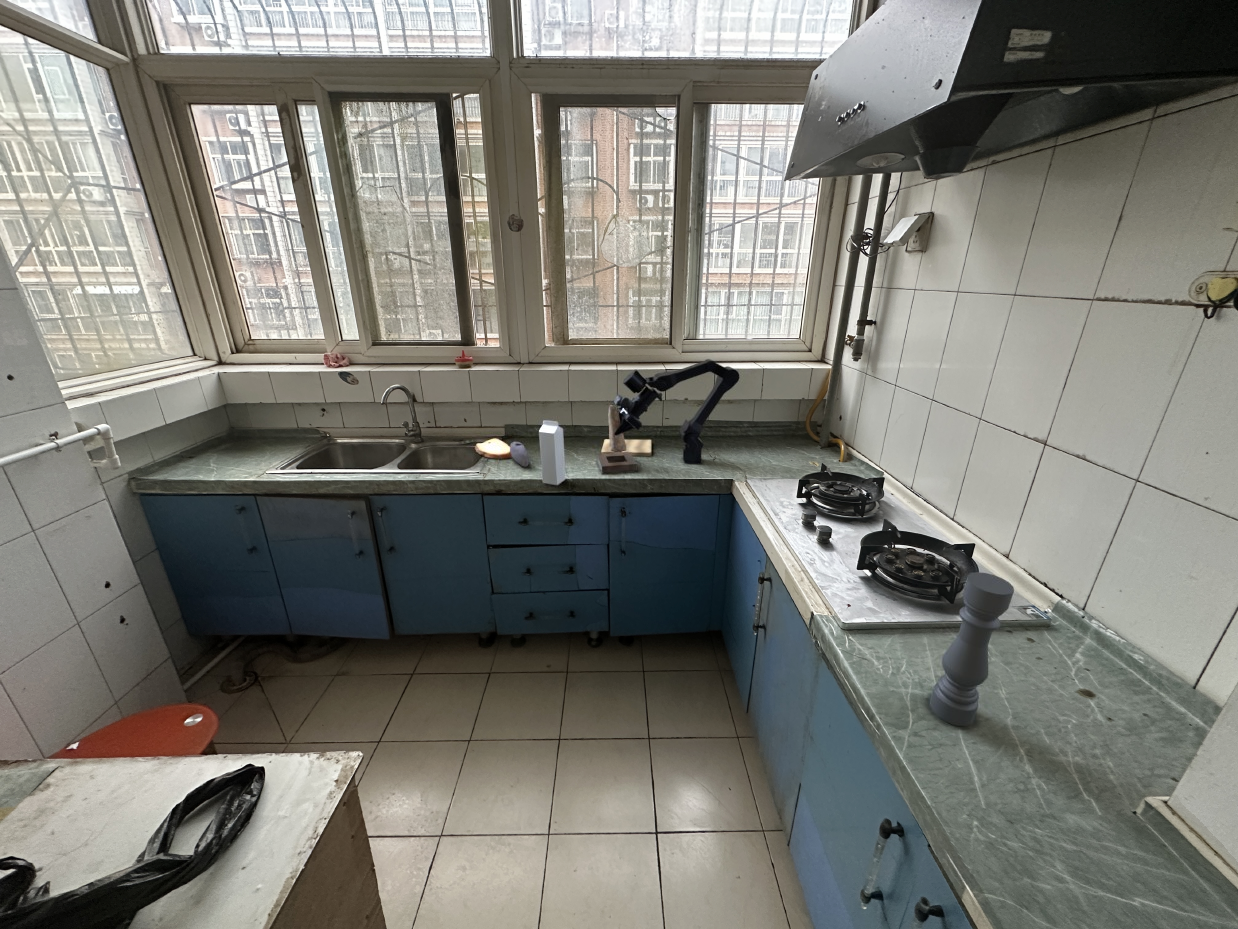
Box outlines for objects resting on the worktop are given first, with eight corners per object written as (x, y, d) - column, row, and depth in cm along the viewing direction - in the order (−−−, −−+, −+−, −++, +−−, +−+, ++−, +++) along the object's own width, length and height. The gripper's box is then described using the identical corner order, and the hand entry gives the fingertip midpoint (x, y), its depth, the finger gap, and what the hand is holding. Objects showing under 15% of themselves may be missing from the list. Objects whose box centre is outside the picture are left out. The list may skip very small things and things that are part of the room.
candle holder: (956, 695, 85) (995, 570, 76) (982, 726, 80) (1027, 595, 71) (921, 696, 85) (955, 571, 76) (944, 727, 79) (984, 596, 70)
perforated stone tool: (533, 468, 187) (532, 451, 184) (520, 470, 185) (518, 453, 182) (522, 456, 199) (521, 439, 197) (509, 458, 197) (508, 441, 195)
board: (651, 443, 213) (651, 439, 213) (651, 455, 198) (651, 452, 198) (604, 442, 214) (604, 439, 214) (601, 455, 199) (601, 451, 199)
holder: (630, 459, 195) (630, 452, 194) (636, 471, 183) (637, 463, 182) (597, 461, 193) (597, 454, 192) (602, 474, 181) (601, 466, 180)
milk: (551, 477, 179) (547, 417, 171) (566, 479, 177) (562, 419, 169) (542, 483, 174) (537, 422, 166) (557, 485, 171) (553, 424, 164)
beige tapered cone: (611, 449, 190) (609, 455, 185) (601, 404, 184) (599, 409, 178) (627, 447, 190) (626, 452, 184) (618, 401, 183) (617, 406, 178)
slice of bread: (512, 459, 196) (511, 450, 195) (467, 459, 197) (466, 450, 195) (521, 444, 213) (521, 436, 212) (480, 444, 214) (479, 436, 212)
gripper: (622, 382, 188) (594, 412, 190) (632, 392, 170) (601, 426, 173) (642, 401, 192) (615, 430, 194) (654, 413, 175) (624, 445, 177)
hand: (613, 432), depth 184 cm, fingers closed on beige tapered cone, 4 cm apart
